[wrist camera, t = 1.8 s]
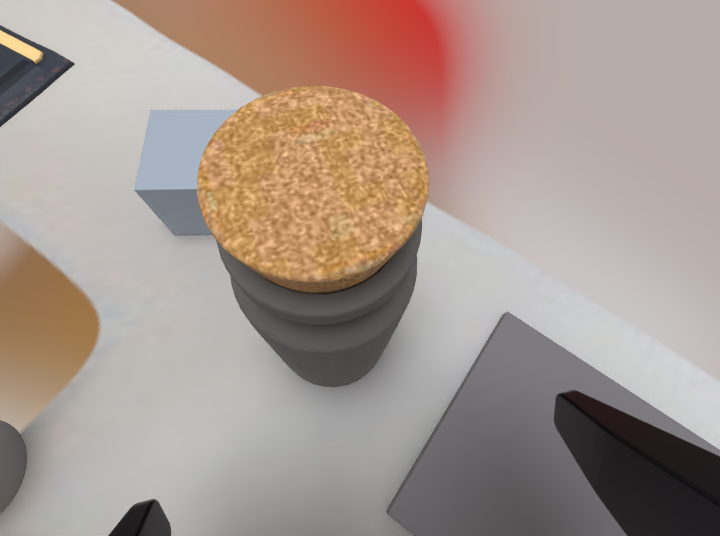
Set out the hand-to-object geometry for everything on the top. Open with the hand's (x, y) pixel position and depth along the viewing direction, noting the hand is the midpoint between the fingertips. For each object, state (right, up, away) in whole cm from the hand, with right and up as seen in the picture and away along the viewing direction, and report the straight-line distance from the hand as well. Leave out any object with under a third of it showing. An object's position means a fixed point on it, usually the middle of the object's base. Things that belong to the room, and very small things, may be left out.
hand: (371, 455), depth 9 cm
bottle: (-2, 0, +13) cm, 13 cm away
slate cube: (-9, +8, +16) cm, 20 cm away
